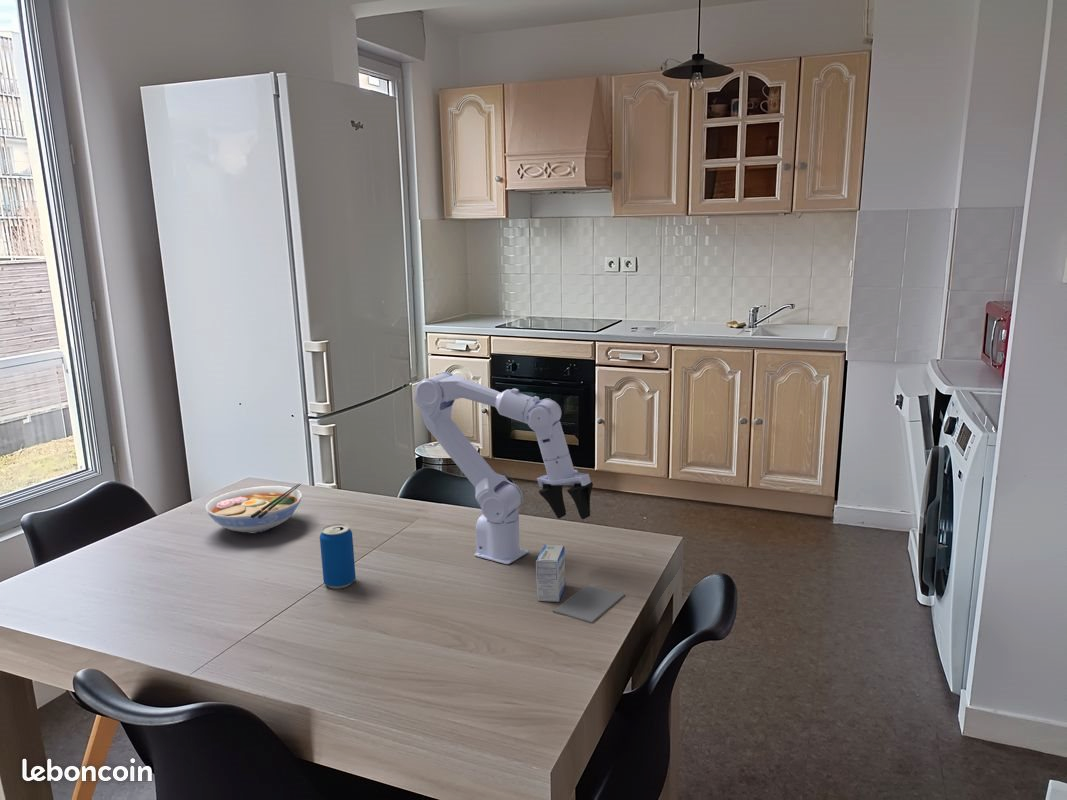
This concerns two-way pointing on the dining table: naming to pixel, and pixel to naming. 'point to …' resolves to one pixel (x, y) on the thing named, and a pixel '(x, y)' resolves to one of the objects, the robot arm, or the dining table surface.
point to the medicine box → (550, 573)
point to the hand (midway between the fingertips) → (573, 517)
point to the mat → (589, 603)
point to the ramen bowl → (254, 507)
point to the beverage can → (337, 556)
